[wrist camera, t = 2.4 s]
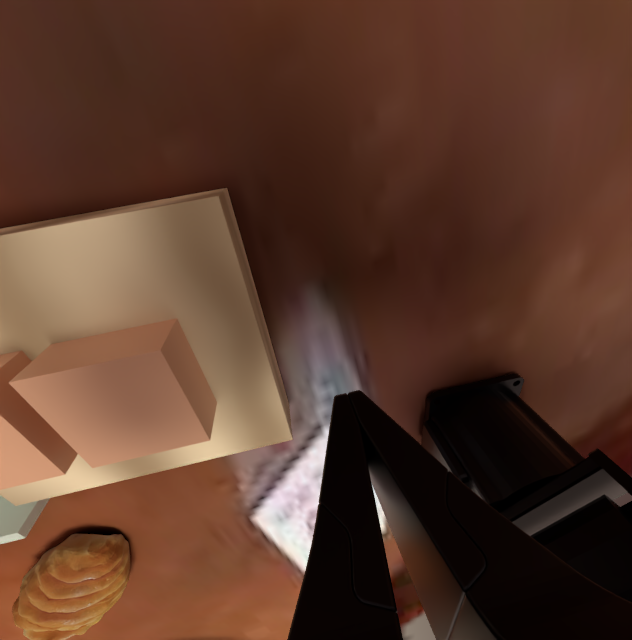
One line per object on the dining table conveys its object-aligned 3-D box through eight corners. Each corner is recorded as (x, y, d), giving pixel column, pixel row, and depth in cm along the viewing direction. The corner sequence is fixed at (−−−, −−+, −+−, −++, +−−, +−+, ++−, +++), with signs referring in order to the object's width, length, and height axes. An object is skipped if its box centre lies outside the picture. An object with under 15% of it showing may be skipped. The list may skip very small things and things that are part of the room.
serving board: (227, 187, 11) (218, 196, 9) (288, 403, 17) (292, 439, 15) (-171, 259, 10) (-290, 288, 8) (48, 459, 16) (15, 506, 14)
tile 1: (176, 318, 10) (160, 350, 9) (217, 402, 13) (210, 440, 11) (51, 344, 10) (7, 382, 8) (115, 425, 12) (92, 468, 11)
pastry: (45, 518, 19) (2, 592, 16) (153, 525, 22) (134, 591, 18) (30, 580, 23) (-9, 652, 19) (124, 581, 25) (104, 644, 22)
